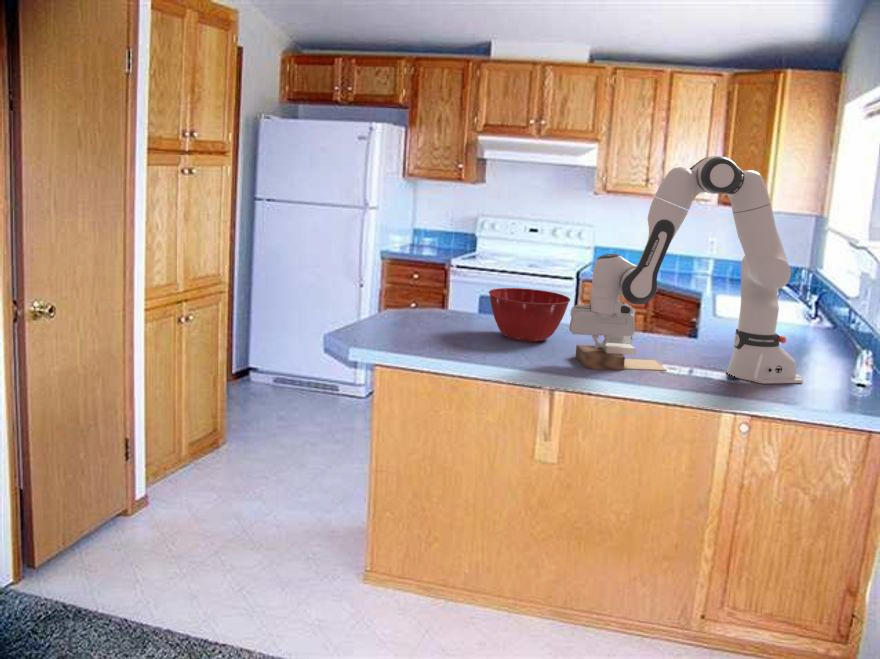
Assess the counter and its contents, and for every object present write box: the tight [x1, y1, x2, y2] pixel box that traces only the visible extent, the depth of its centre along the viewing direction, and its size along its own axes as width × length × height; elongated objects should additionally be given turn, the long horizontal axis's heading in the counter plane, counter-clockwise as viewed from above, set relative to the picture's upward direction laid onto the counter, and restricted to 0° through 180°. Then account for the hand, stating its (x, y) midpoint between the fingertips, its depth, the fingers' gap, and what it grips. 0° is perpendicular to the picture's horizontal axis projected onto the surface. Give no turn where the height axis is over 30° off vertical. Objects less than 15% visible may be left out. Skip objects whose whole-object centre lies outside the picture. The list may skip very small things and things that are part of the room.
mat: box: [624, 358, 667, 371], centre depth 278 cm, size 14×12×1 cm
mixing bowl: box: [488, 287, 571, 343], centre depth 305 cm, size 28×28×15 cm
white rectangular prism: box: [603, 343, 636, 356], centre depth 276 cm, size 9×6×2 cm, turn 94°
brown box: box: [575, 344, 626, 371], centre depth 276 cm, size 12×14×4 cm
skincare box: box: [607, 308, 636, 356], centre depth 293 cm, size 8×6×15 cm
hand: (599, 348), depth 276 cm, fingers closed
